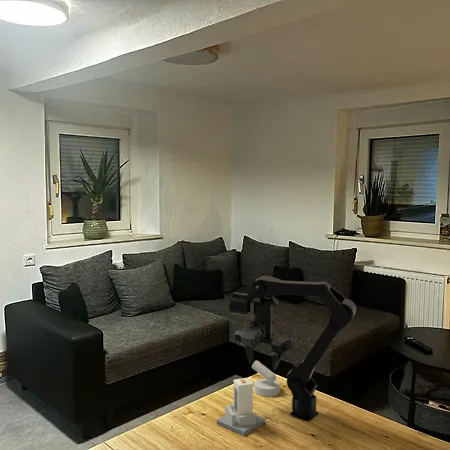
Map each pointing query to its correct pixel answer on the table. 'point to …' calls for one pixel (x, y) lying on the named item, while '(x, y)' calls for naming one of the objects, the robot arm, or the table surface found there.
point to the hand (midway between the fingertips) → (262, 366)
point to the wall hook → (265, 381)
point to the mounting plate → (240, 429)
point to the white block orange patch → (243, 397)
